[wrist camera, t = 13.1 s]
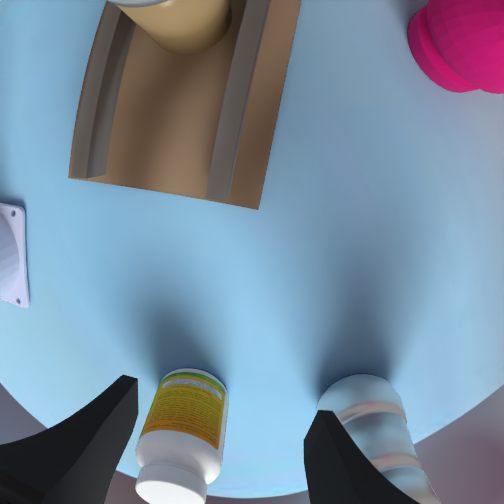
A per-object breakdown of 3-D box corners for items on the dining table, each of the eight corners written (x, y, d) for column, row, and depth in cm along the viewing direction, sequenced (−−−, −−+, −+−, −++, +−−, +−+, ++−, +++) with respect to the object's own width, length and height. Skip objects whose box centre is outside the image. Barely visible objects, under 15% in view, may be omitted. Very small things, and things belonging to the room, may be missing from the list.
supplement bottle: (150, 368, 22) (106, 468, 13) (220, 362, 22) (201, 475, 13) (171, 417, 24) (144, 513, 14) (235, 414, 23) (227, 518, 14)
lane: (73, 177, 18) (31, 185, 14) (132, -52, 13) (109, -83, 9) (258, 207, 19) (258, 224, 14) (309, -42, 14) (320, -80, 9)
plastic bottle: (353, 430, 24) (402, 636, 5) (292, 405, 23) (316, 659, 4) (406, 382, 22) (504, 594, 3) (349, 348, 21) (446, 631, 2)
